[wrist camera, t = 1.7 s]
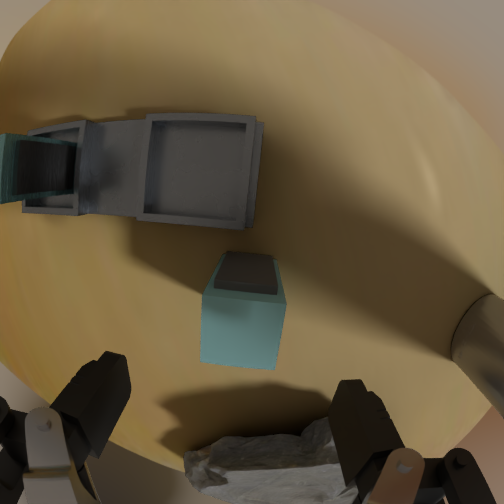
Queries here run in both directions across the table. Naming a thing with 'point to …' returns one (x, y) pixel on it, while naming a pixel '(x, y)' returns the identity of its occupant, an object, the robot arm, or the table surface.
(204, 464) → the stone
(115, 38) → the table surface
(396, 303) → the table surface
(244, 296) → the block
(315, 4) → the table surface
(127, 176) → the grey block holder
